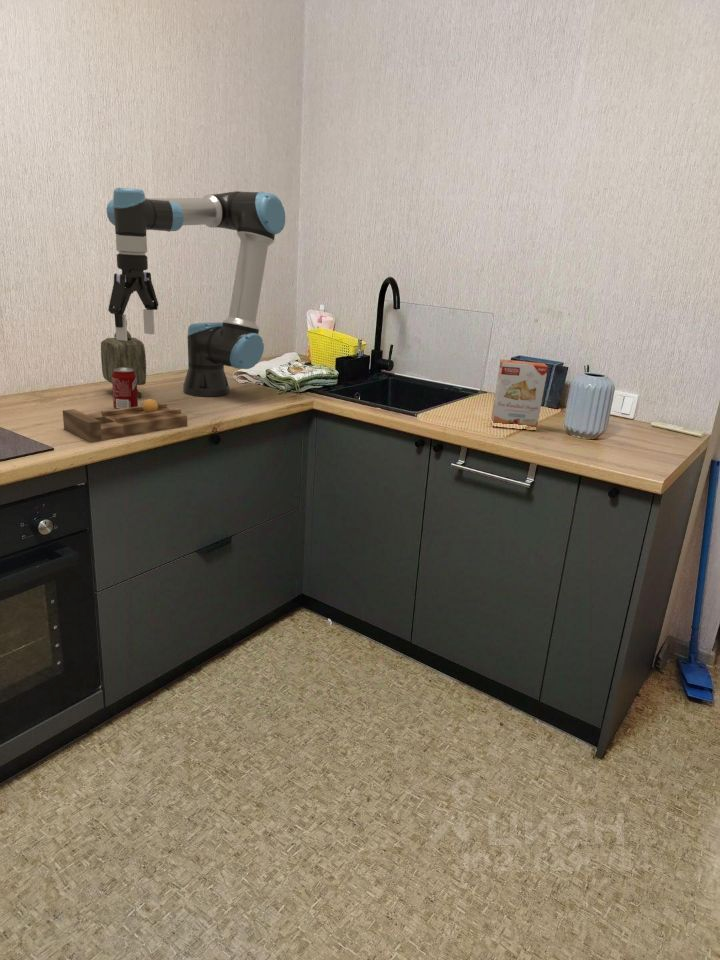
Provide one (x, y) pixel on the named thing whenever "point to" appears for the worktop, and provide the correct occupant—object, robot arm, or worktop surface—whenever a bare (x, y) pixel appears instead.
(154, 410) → the ball
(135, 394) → the soda can
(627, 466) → the worktop surface
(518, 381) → the cracker box
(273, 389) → the worktop surface
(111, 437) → the board
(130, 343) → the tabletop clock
